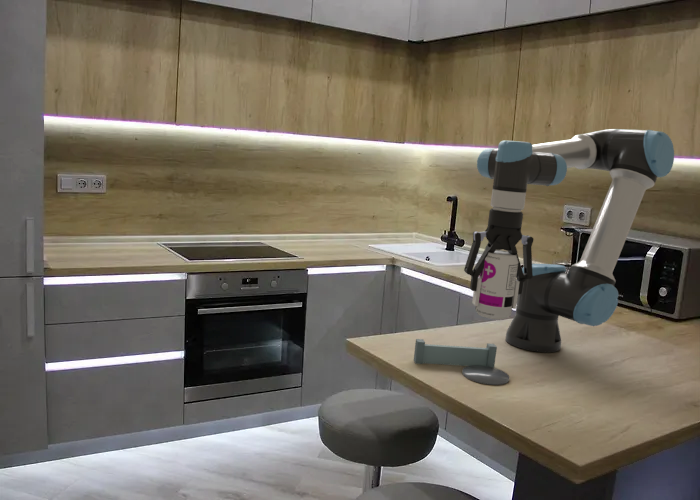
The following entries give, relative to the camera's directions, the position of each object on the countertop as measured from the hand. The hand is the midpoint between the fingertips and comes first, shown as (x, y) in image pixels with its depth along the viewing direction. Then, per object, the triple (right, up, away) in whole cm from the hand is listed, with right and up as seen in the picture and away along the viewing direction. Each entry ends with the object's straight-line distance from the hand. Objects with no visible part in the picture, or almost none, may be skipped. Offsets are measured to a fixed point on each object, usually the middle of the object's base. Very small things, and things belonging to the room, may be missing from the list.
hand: (493, 305), depth 150 cm
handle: (-8, -15, +9) cm, 19 cm away
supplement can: (0, -2, 0) cm, 2 cm away
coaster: (-1, -17, +3) cm, 17 cm away
